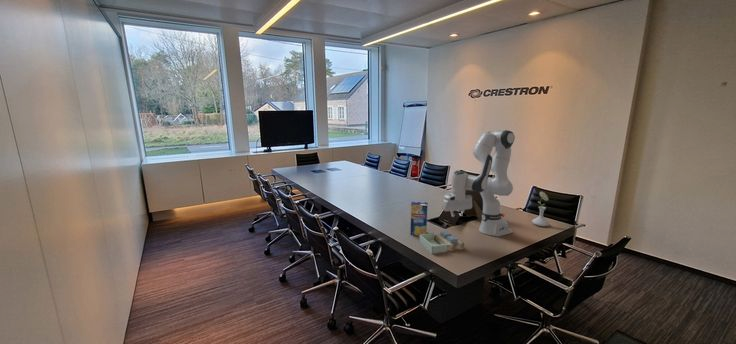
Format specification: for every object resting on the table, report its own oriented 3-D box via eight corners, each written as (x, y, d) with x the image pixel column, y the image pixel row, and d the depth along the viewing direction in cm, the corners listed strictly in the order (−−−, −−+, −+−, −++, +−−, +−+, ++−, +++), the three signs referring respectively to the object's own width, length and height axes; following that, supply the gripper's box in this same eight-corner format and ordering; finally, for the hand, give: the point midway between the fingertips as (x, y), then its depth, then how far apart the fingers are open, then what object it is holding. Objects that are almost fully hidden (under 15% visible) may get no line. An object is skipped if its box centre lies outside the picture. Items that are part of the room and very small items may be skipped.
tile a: (447, 234, 201) (447, 230, 201) (451, 237, 196) (451, 233, 196) (440, 235, 200) (440, 231, 199) (444, 238, 195) (444, 234, 195)
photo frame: (458, 214, 251) (460, 185, 246) (485, 215, 249) (488, 185, 243) (462, 221, 237) (464, 190, 231) (490, 221, 234) (493, 190, 229)
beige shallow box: (450, 238, 204) (450, 233, 203) (463, 248, 189) (464, 242, 188) (434, 240, 201) (434, 235, 200) (446, 251, 186) (446, 245, 185)
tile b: (453, 239, 194) (453, 235, 193) (457, 242, 189) (458, 238, 188) (446, 240, 192) (446, 236, 192) (450, 243, 188) (450, 239, 187)
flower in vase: (551, 228, 221) (555, 195, 216) (534, 227, 223) (538, 194, 218) (544, 221, 233) (548, 190, 228) (528, 220, 236) (532, 189, 231)
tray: (433, 240, 202) (433, 233, 201) (446, 252, 185) (447, 244, 184) (419, 241, 199) (419, 234, 198) (431, 254, 182) (432, 246, 181)
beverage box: (426, 236, 209) (427, 205, 204) (410, 234, 211) (411, 204, 207) (426, 232, 215) (427, 202, 211) (411, 230, 218) (411, 201, 213)
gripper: (469, 193, 200) (468, 213, 203) (441, 195, 195) (440, 216, 198) (475, 195, 194) (473, 216, 197) (446, 198, 189) (445, 219, 192)
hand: (456, 216), depth 197 cm, fingers open, 4 cm apart
